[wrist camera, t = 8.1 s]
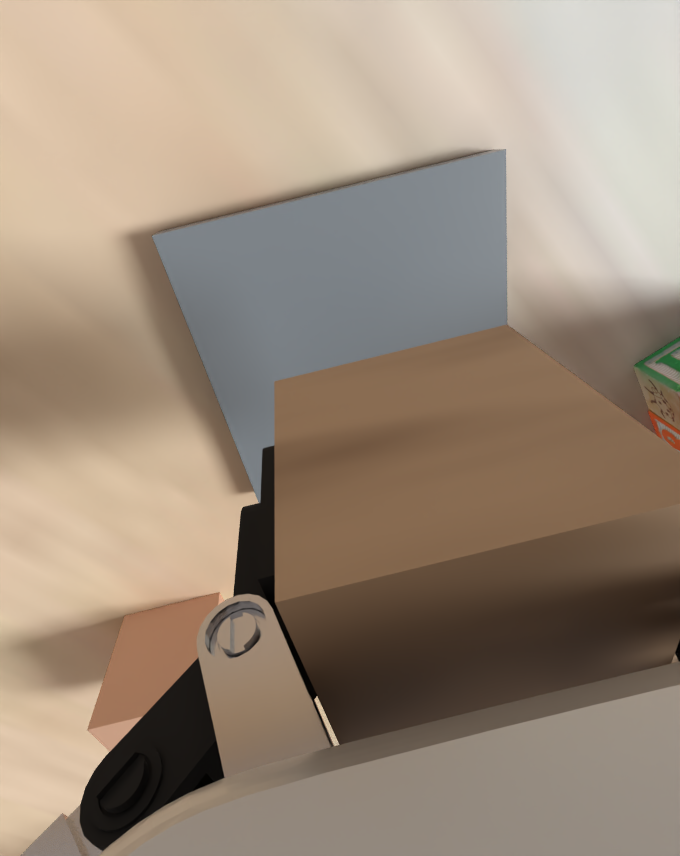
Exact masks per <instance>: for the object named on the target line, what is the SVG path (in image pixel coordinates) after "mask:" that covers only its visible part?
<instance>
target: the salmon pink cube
mask: <svg viewBox="0 0 680 856" xmlns="http://www.w3.org/2000/svg"><path fill="white" fill-rule="evenodd" d="M223 601H224V600H223V598H222V596H221V594H220V592H219V593H215V594H211V595H207V596H203V597H199V598H195V599H191V600H187V601H183V602H178V603H174V604H170V605H166V606H162V607H158V608H154V609H150V610H146V611H142V612H138V613H134V614H129V615H125V616H124V619H123V622H122V625H121V628H120V631H119V634H118V637H117V641H116V644H115V647H114V650H113V653H112V656H111V659H110V662H109V665H108V668H107V671H106V674H105V677H104V680H103V683H102V686H101V690H100V693H99V696H98V699H97V702H96V705H95V708H94V711H93V714H92V717H91V720H90V723H89V726H88V729H87V730H88V731H89V732H90V733H91V734H92V735H93V736H94V737H95V738H96V739H97V740H98V741H99V742H100V743H101V744H103V745H104V746H105V747H106V748H107V749H108V750H109V751H111V750H112V749H113V748H114V747H115V746H116V745H117V744H118V743H119V741H120V740H121V739H122V738H123V737H124V736H125V735H126V734H127V733H128V732H129V731H130V730H131V729H132V728H133V727H134V725H135V724H136V723H137V722H138V721H139V720H140V719H141V718H142V717H143V716H144V715H145V714H146V713H147V712H148V711H149V709H150V708H151V707H152V706H153V705H154V704H155V703H156V702H157V701H158V700H159V699H160V698H161V697H162V696H163V695H164V693H165V692H166V691H167V690H168V689H169V688H170V687H171V686H172V685H173V684H174V683H175V682H176V681H177V680H178V678H179V677H180V676H181V675H182V674H183V673H184V672H185V671H186V670H187V669H188V668H189V667H190V666H191V665H192V664H193V662H194V661H195V660H196V659H197V658H198V652H197V635H198V632H199V629H200V626H201V624H202V623H203V621H204V620H205V618H206V616H207V615H208V614H209V613H210V612H211V611H212V610H213V609H214V608H215V607H216V606H217V605H219V604H220V603H222V602H223Z"/></svg>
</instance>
